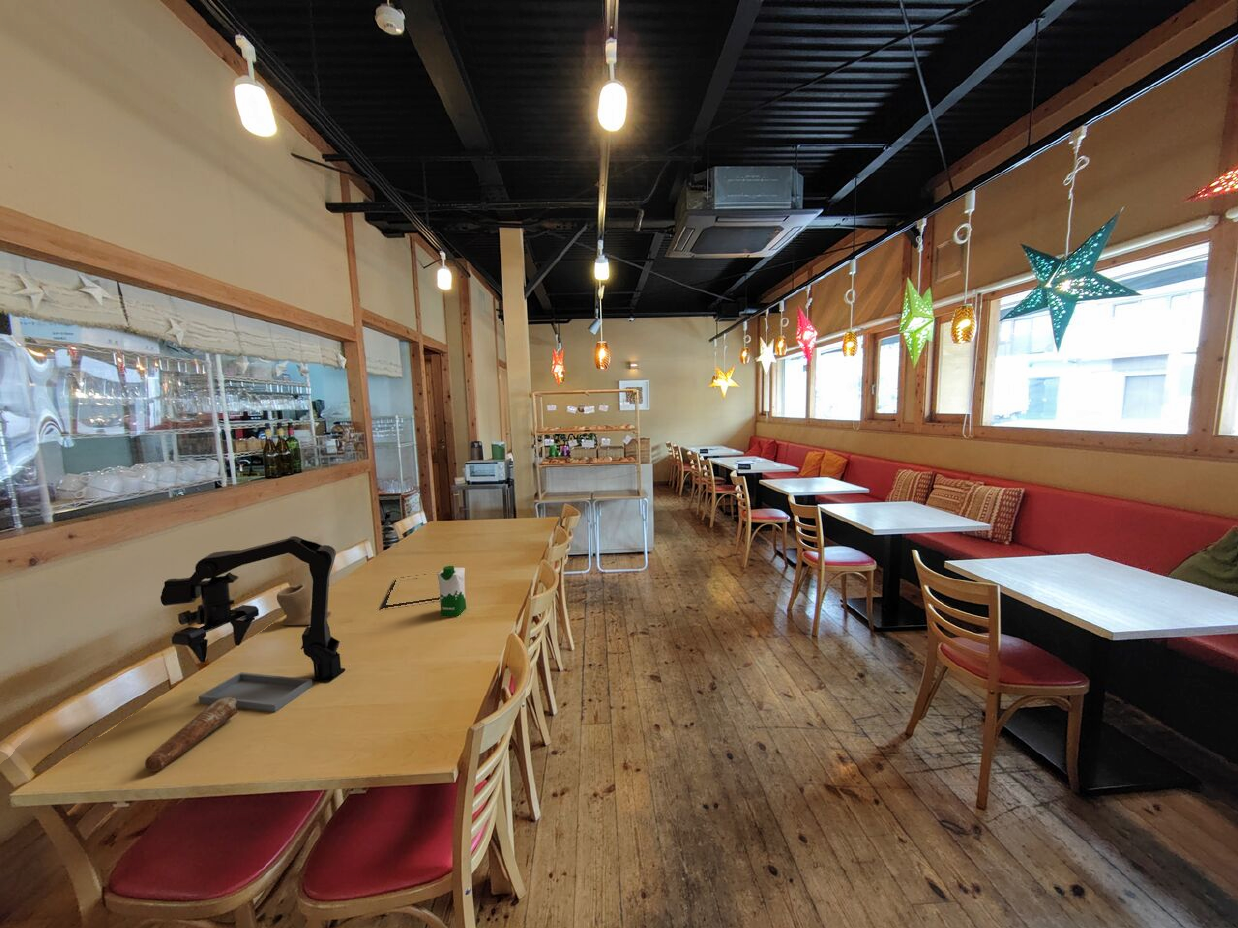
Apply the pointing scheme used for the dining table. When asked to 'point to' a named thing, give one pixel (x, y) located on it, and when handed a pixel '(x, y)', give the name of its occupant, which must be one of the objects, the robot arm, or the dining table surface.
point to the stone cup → (296, 605)
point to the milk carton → (452, 591)
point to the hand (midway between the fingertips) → (220, 653)
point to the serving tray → (258, 691)
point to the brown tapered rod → (192, 733)
